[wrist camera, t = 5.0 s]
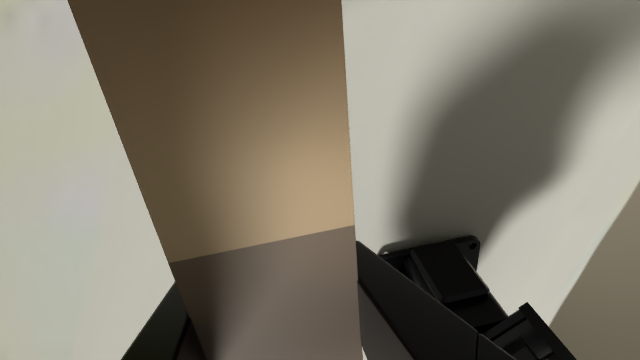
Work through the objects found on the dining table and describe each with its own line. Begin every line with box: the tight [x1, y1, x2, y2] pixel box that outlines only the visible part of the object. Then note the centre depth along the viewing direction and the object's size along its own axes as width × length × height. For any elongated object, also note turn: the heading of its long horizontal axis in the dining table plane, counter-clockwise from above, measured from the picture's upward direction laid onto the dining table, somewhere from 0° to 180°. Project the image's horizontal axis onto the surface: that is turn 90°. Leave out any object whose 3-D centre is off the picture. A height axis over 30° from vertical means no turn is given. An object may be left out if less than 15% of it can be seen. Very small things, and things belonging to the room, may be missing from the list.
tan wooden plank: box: [68, 0, 363, 360], centre depth 7 cm, size 14×3×3 cm, turn 5°
